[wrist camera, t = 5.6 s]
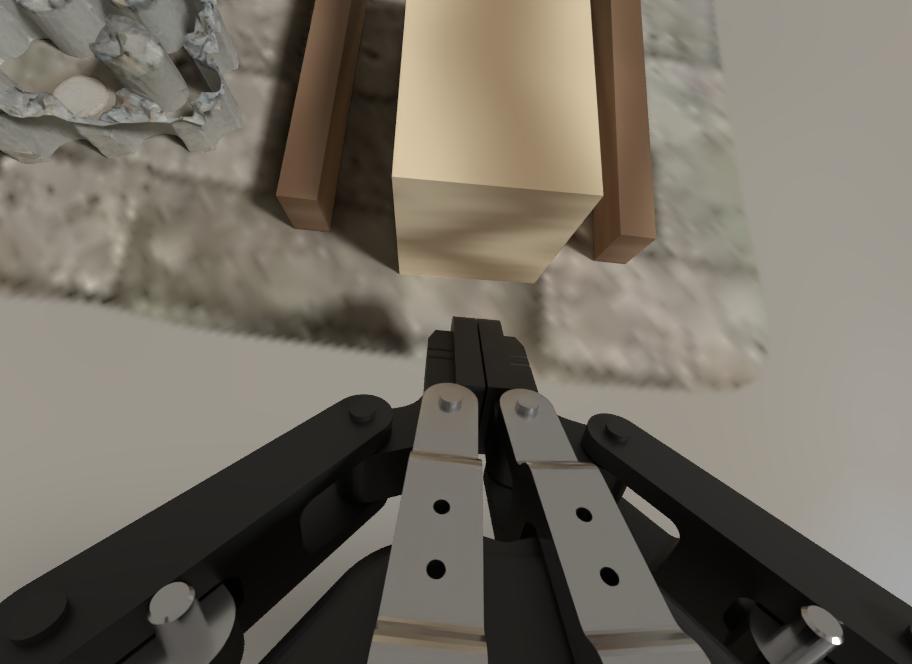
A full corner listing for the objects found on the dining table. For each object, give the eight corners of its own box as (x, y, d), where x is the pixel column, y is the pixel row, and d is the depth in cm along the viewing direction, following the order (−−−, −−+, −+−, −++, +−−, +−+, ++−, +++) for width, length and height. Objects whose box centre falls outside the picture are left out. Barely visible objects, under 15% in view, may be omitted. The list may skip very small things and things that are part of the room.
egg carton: (-17, 173, 17) (-147, 95, 13) (9, 33, 19) (-99, -73, 15) (247, 165, 18) (201, 92, 15) (249, 34, 20) (208, -63, 16)
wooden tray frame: (294, 228, 18) (271, 187, 15) (357, -111, 23) (349, -189, 20) (625, 263, 19) (663, 232, 16) (610, -67, 24) (637, -134, 21)
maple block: (399, 275, 18) (391, 176, 11) (415, 57, 21) (416, -125, 14) (533, 284, 18) (603, 196, 12) (529, 70, 21) (583, -98, 15)
